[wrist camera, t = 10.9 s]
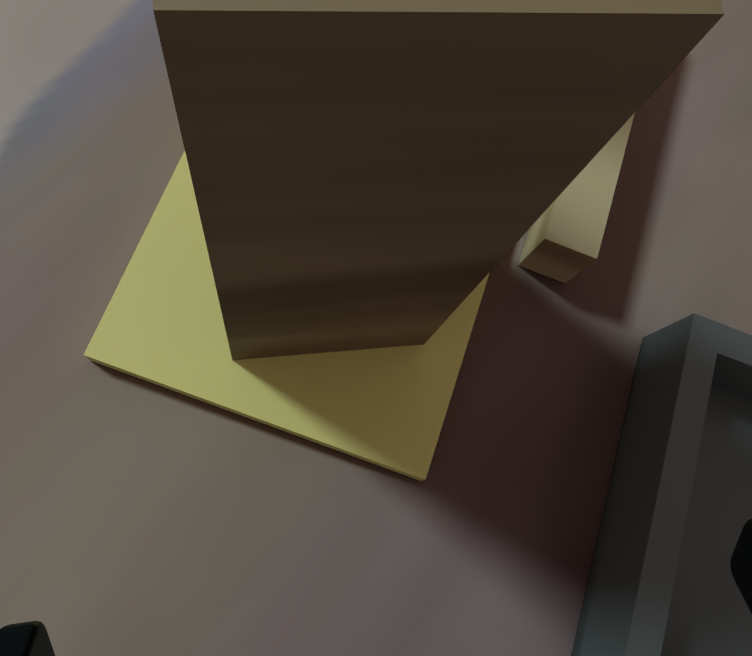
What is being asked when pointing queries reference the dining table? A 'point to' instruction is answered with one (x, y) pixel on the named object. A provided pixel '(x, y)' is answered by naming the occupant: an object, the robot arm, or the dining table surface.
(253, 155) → the walnut block
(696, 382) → the charcoal tray
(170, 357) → the pad
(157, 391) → the dining table surface
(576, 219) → the brown lane walls
